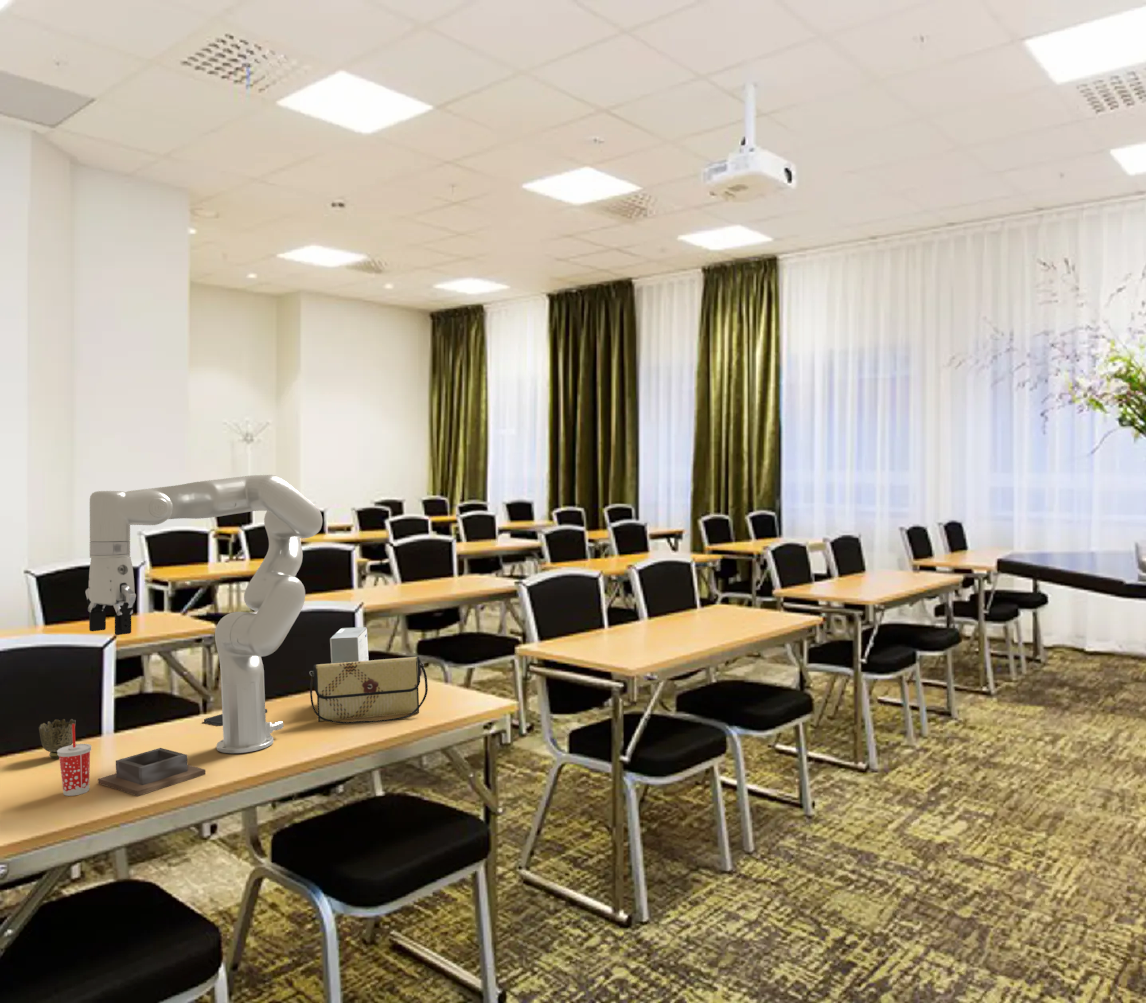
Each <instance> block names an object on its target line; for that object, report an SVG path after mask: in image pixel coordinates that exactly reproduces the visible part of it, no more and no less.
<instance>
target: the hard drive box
mask: <svg viewBox="0 0 1146 1003" xmlns="http://www.w3.org/2000/svg"><path fill="white" fill-rule="evenodd" d="M329 644H330V661H331V662H330V664H331V663H344V662H357V661H370V660H369V645H368V644H369V643H368V628H367V626H366V627H365V626H363V627H362V626H359V627H342V628H340V629H339V630H338V631H336V632H335V633H334V634H333V635H332V636H331V637H330V638H329Z"/></svg>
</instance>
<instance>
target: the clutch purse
mask: <svg viewBox="0 0 1146 1003" xmlns="http://www.w3.org/2000/svg"><path fill="white" fill-rule="evenodd" d="M421 670H422V673H423V678H424V687H425V689H424V695H423V697H422V700H421V701H420V696H419V686H420V683H421ZM311 672H312V673H311ZM309 676H311V677H310V682H309V683H310V684H309V696H310V698H309V699H310V703H311V707H312V710H313V712H314V713H315V715H316V716H317V719H318V720H317V721H318V722H319V723H320V722H329V723H333V724H334V723H335V724H363V723H365V724H367V723H368V724H369V723H372V724H373V723H381V722H392V721H397V720H402V719H406V718H409V717H411V716H413V715H414V714H415V713H417V714H418V713H419V712H420V708H421V707H422V705H423V703H424V701H426V698H427V695H428V693H429V692H428V691H429V690H428V686H429V685H428V677H427V673H426V670H425V664H424V662H420V656H410V657H398V658H385V659H384V658H383V659H374V660H373V659H372V660H369V661H357V662H344V663H331V662H330V663H320V664H313V670H310V671H309ZM313 683H314V684H313ZM313 685H314V686H313ZM313 687H314V692H315V694H316V698H317V699H316V700H317V702H316V703H317V710H316V708H315V704H314V699H313ZM402 714H407V715H404V716H400V717H394V718H386V719H377V720H354V721H353V720H351V721H346V719H348V720H349V719H358V718H369V717H379V716H381V717H382V716H393V715H402ZM339 720H345V721H339Z"/></svg>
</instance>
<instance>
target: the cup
mask: <svg viewBox="0 0 1146 1003" xmlns="http://www.w3.org/2000/svg"><path fill="white" fill-rule="evenodd" d="M72 724H75V725H76V719H73V718H71V719H70V720H69V721H66V719H65V718H62V719H61V720H59V719H54V720H53V721H52V722H51V721H47V724H46V723H45V722H43V723H40V725H39V726H38V731H39V737H40V738H39V739H40V742H41V746H42V748H43V749H44V750H45V751H46V752H48V753H49V755H48V756H49V757H50V758H51V759H54V760H56V759H57V760H58V759H59V756H58V753H57V750H58V749H60V748H62V747H66V746H70V745H73V736H72Z"/></svg>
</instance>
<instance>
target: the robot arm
mask: <svg viewBox="0 0 1146 1003" xmlns="http://www.w3.org/2000/svg"><path fill="white" fill-rule="evenodd" d="M259 511H263V512H264V511H265V514H264V518H263V521H264V522H263V523H264V528H265V531H266V534H267V538H268V549H267V552H266V555H265V556H264V559H263V560H262V562H261V563H260V565H259V567H258V568H257V570H256V572H255V573H254V574H253V576H252V578H251V579H250V581H249V582H248V584H247V586H246V588H245V590H244V593H243V600H244V603H245V605H246V606H247V608H249V609H250V610H252V611H255V612H256V613H253V612H245V611H234V612H231V613H227V614H226V615H224V616H223V617H222V618H220V620H219V621H218V623H217V624H216V627H215V632H214V641H215V646H216V650H217V651H216V652H217V654H218V659H219V660H218V661H219V667H220V668H219V669H220V685H221V686H220V688H221V708H222V710H221V711H222V713H221V714H222V716H223V726H222V736H223V739H221V740H219V741H218V742H217V744H216V750H217V751H218V752H219V753H223V754H243V753H244V754H245V753H246V754H247V753H251V752H252V753H253V752H255V751H260V750H263V749H267V748H268V747H271V746H272V745H273V744H274V737H273V735H271V734H272V733H273V731H274V732H275V731H278V730H281V729H284V722H283V721H282V720H278V721H276V722H275V721H274V722H271V721H269V722H268V721H267V720H266V717H267V715H266V713H265V709H266V694H265V691H266V690H265V670H264V664H263V660H262V657H267V656H270V655H272V654H274V652H276V651H277V650H279V647H280V646H281V645H282V644H283V642H284V640H285V639H286V637H287V635H288V634H289V632H290V630H291V629H292V627H293V625H294V624H295V622H296V620H297V618H298V617H299V615H300V613H301V611H302V610H303V607H304V606H305V600H306V589H305V586H304V584H303V583H302V581H301V580H300V579H299V578H298V577H297V573H298V572H299V570H300V569H301V566H302V563H303V557H304V555H303V548H302V543H301V539H308V538H312V537H314V536H315V535H317V534H318V533H319V532H320V531H321V529H322V526H323V516H322V512H321V511H320V509H319V508H318V506H317V505H316V504H314V503H313V502H312V501H311V500H310V499H308V498H307V497H306V496H305V495H303V493H301V492H300V491H299V490H298V489H296V488H295V487H294V486H292V485H291V484H290V483H289V482H288V481H286V480H285V479H284V478H281V477H280V476H277V475H273V474H263V475H262V474H260V475H256V474H255V475H246V476H245V475H243V476H236V477H227V478H217V479H209V480H200V481H193V482H188V483H183V484H178V485H177V484H176V485H168V486H160V487H152V488H143V489H134V490H128V491H121V490H98V491H94V492H92V493H91V494H90V497H89V558H90V564H89V572H88V588H86V589H85V596H86V604H87V605H88V607H87V611H88V612H89V613H88V614H89V617H88V618H89V619H88V622H89V623H88V624H89V627H88V628H89V630H88V631H90V632H99V631H106V628H107V626H106V624H107V623H106V622H107V620H106V619H107V614H106V612H107V611H106V610H104V609H105V607H106V606H113V608H114V610H115V613H116V615H115V614H114V635H116V636H121V635H129V634H130V635H131V634H132V615H133V614H134V610H133V608H134V607H135V601H136V597H137V594H136V593H135V578H134V568H133V567H134V566H133V562H132V558H131V525H132V526H157V525H160V524H163V523H165V522H166V521H168V520H177V519H178V520H179V519H190V520H191V519H195V520H196V519H197V520H198V519H200V520H201V519H211V518H217V517H223V516H230V515H236V514H243V513H244V514H245V513H249V512H259Z"/></svg>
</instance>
